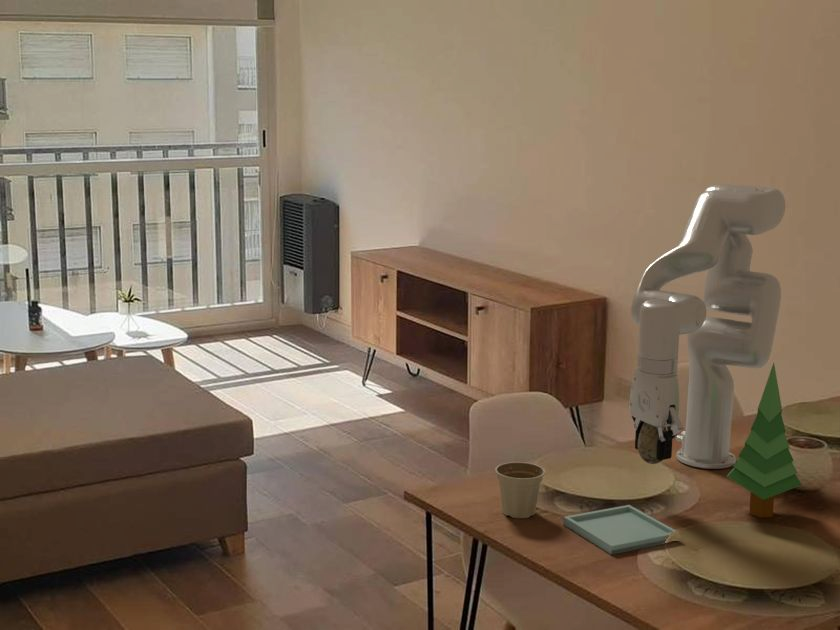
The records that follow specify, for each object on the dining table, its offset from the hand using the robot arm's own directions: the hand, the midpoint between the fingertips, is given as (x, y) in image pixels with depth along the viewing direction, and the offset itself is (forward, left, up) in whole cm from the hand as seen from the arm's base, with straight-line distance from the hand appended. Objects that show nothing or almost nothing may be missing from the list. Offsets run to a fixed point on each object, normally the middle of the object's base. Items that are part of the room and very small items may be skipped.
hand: (652, 452), depth 230 cm
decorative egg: (0, 0, -2) cm, 2 cm away
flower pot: (-6, -27, -10) cm, 29 cm away
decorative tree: (+13, +16, -10) cm, 23 cm away
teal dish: (+10, -15, -10) cm, 21 cm away
